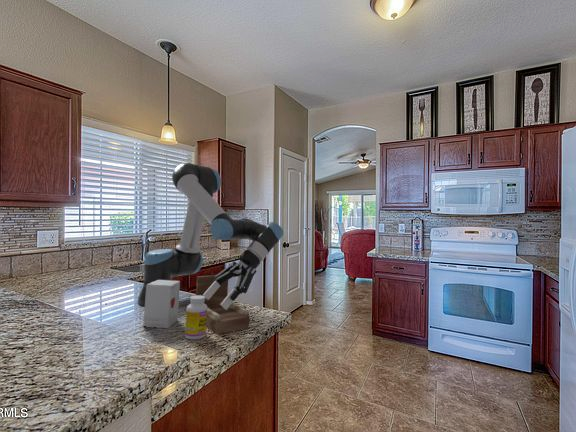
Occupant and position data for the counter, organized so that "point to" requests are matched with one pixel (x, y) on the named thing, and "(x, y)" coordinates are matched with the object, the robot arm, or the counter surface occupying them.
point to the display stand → (221, 308)
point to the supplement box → (161, 303)
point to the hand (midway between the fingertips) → (213, 302)
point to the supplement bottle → (196, 318)
